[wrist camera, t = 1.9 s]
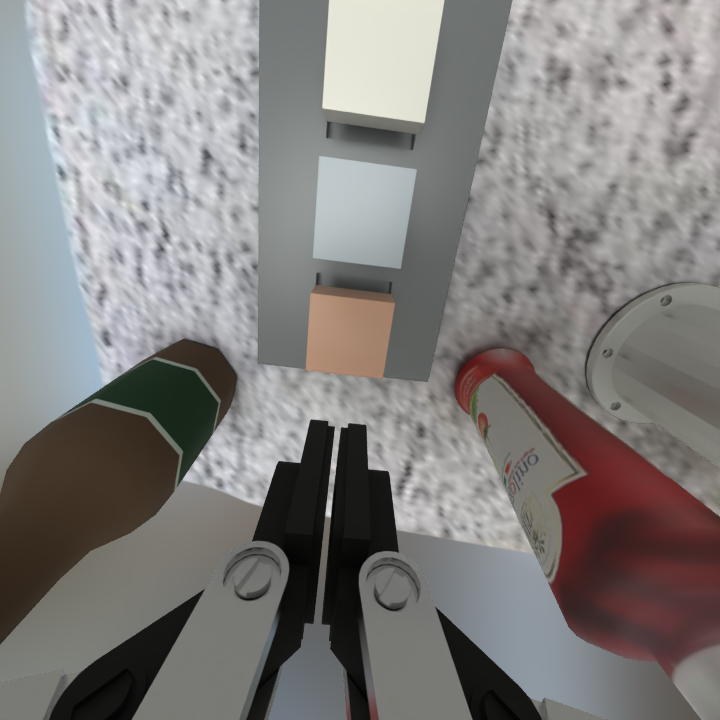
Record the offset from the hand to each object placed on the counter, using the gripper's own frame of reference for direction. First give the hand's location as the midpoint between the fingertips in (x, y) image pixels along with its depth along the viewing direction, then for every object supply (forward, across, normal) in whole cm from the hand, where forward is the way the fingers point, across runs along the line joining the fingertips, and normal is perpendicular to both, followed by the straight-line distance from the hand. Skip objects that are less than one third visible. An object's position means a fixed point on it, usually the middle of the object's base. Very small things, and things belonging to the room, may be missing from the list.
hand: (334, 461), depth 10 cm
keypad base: (+19, 0, -7) cm, 20 cm away
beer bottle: (+19, +13, +8) cm, 24 cm away
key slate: (+16, 0, -7) cm, 17 cm away
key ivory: (+16, 0, -14) cm, 21 cm away
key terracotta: (+16, 0, 0) cm, 16 cm away
